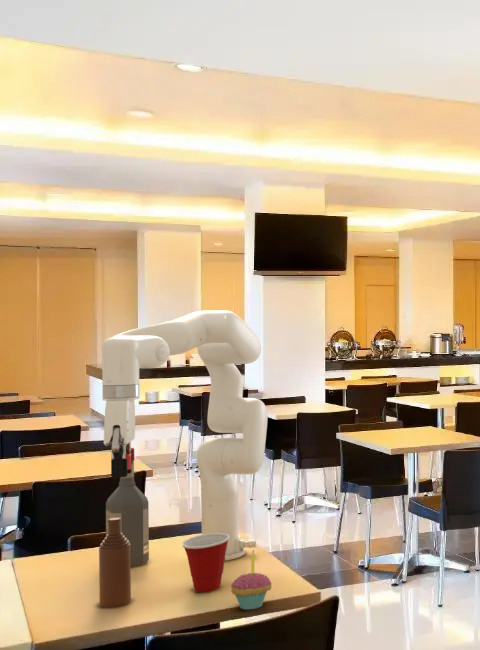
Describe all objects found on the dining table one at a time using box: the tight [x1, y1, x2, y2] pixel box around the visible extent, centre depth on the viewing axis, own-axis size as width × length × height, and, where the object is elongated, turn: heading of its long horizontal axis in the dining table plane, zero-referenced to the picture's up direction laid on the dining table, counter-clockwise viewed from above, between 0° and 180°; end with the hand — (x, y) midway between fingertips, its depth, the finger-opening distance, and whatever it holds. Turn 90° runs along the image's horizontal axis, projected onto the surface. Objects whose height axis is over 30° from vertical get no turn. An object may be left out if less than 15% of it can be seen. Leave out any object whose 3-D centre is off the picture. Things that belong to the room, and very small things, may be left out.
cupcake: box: [230, 549, 272, 611], centre depth 193 cm, size 9×8×12 cm
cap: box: [126, 454, 131, 470], centre depth 194 cm, size 4×4×3 cm
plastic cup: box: [181, 533, 230, 593], centre depth 206 cm, size 11×11×12 cm
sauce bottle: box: [98, 517, 132, 609], centre depth 197 cm, size 6×6×19 cm
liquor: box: [105, 447, 150, 569], centre depth 228 cm, size 9×9×30 cm
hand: (121, 474), depth 194 cm, fingers closed on cap, 3 cm apart
